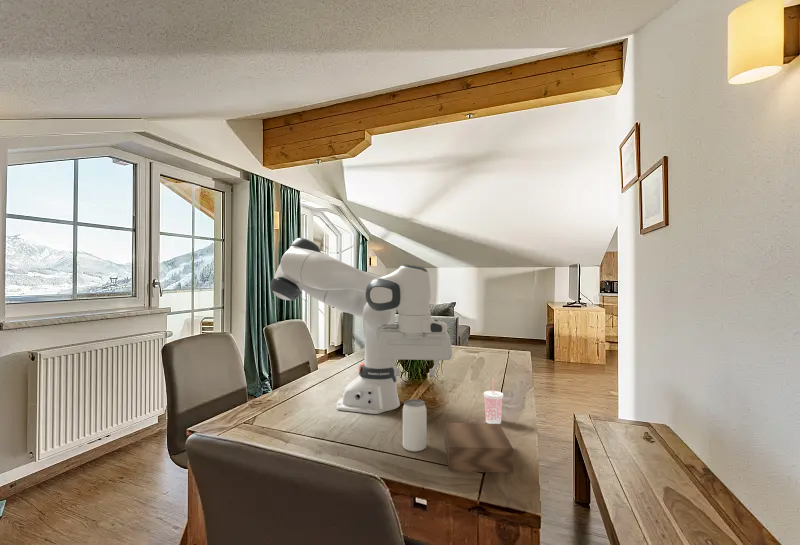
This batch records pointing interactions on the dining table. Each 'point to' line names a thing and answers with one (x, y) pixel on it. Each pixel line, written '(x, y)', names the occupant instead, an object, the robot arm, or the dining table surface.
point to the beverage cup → (493, 406)
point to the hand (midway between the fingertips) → (414, 375)
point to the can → (414, 425)
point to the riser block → (478, 448)
